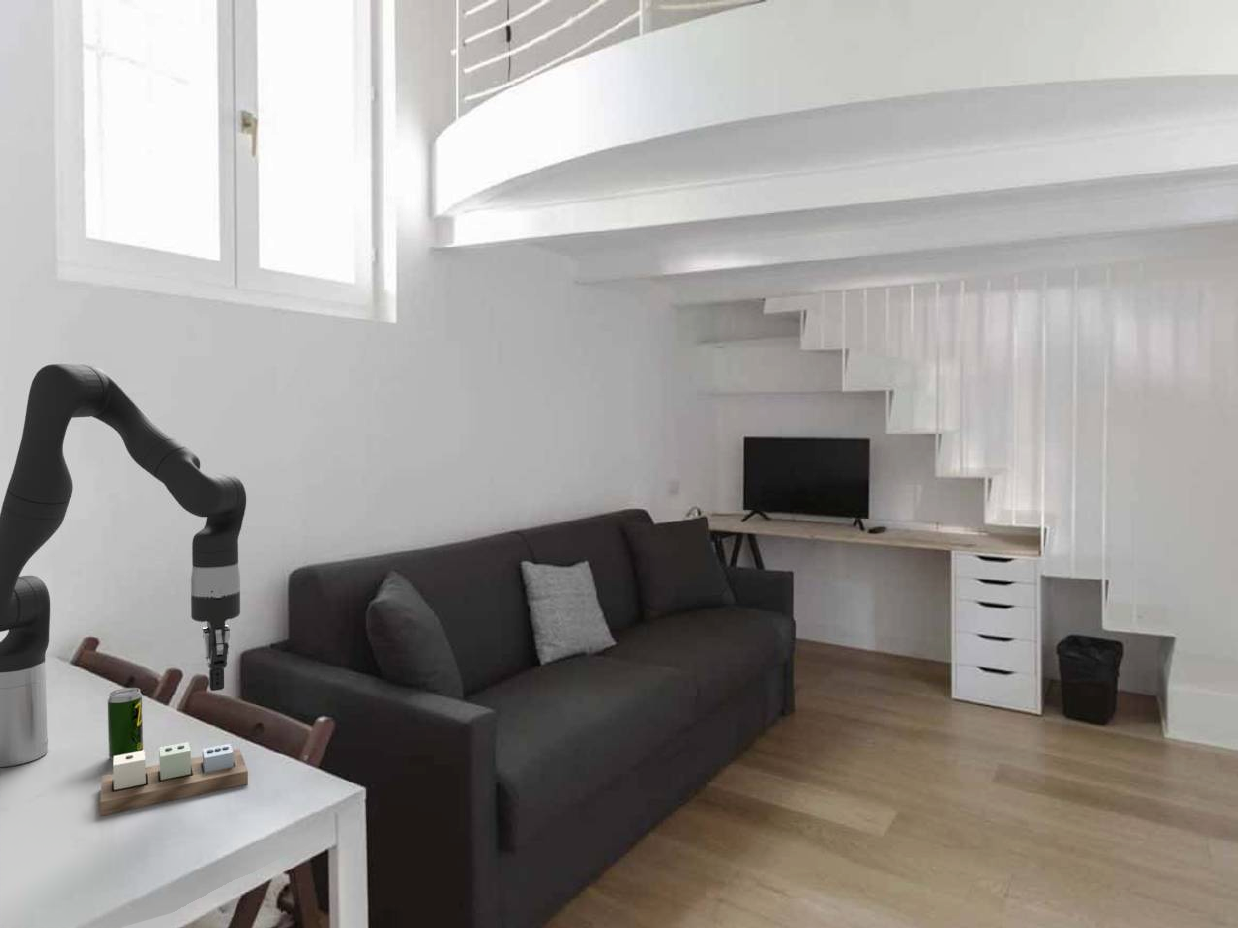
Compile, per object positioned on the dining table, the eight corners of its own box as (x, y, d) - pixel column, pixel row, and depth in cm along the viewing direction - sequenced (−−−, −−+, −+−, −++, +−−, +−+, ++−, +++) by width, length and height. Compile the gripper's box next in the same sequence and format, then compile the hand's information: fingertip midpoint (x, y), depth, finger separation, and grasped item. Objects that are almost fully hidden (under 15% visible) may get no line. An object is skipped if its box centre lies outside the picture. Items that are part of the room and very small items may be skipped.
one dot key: (114, 789, 125) (113, 764, 125) (114, 779, 129) (113, 754, 129) (145, 783, 128) (145, 758, 127) (145, 773, 131) (144, 748, 131)
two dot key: (160, 780, 129) (160, 755, 129) (159, 770, 132) (159, 746, 132) (190, 773, 131) (190, 749, 131) (189, 764, 135) (188, 740, 135)
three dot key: (205, 780, 132) (204, 756, 132) (202, 771, 136) (202, 747, 136) (233, 774, 135) (233, 750, 135) (230, 765, 138) (230, 742, 138)
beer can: (109, 764, 140) (107, 699, 140) (108, 754, 145) (107, 690, 144) (143, 757, 143) (142, 693, 143) (142, 747, 148) (141, 685, 147)
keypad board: (100, 815, 122) (100, 802, 122) (102, 788, 131) (101, 775, 131) (247, 783, 133) (247, 770, 133) (239, 760, 142) (239, 748, 142)
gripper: (188, 585, 138) (189, 682, 138) (194, 600, 127) (195, 704, 127) (235, 581, 142) (235, 675, 142) (244, 595, 131) (245, 696, 131)
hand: (216, 689), depth 135 cm, fingers closed
